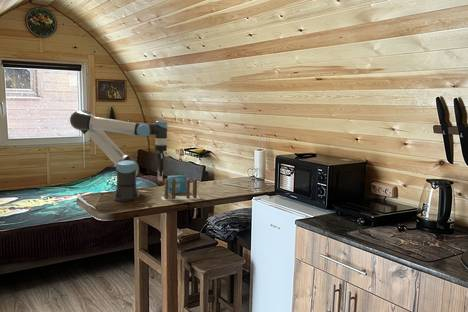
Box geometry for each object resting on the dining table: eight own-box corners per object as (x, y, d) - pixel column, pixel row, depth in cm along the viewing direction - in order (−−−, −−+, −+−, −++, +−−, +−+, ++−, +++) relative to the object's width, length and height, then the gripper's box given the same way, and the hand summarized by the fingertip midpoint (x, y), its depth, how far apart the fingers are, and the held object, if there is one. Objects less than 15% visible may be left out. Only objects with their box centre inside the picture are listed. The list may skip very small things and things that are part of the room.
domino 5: (194, 198, 268) (194, 179, 266) (192, 196, 273) (193, 178, 271) (196, 198, 268) (197, 179, 267) (195, 196, 273) (195, 178, 272)
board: (162, 201, 260) (162, 200, 260) (160, 198, 269) (160, 196, 269) (200, 200, 267) (200, 198, 266) (197, 197, 276) (197, 195, 276)
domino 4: (187, 198, 266) (187, 179, 265) (185, 196, 271) (186, 178, 270) (189, 198, 267) (189, 179, 266) (188, 196, 272) (188, 178, 270)
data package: (169, 194, 280) (169, 176, 279) (166, 193, 284) (167, 175, 283) (186, 193, 286) (186, 176, 285) (183, 192, 290) (183, 175, 289)
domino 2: (165, 199, 263) (165, 179, 261) (164, 197, 268) (164, 178, 266) (168, 198, 263) (168, 179, 262) (167, 197, 268) (167, 178, 267)
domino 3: (172, 198, 264) (173, 179, 263) (171, 197, 269) (171, 178, 267) (175, 198, 264) (175, 179, 263) (174, 197, 269) (174, 178, 268)
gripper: (168, 146, 268) (167, 182, 271) (165, 143, 285) (164, 177, 288) (156, 145, 266) (155, 182, 268) (153, 143, 283) (153, 177, 286)
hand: (160, 179), depth 278 cm, fingers closed on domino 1, 5 cm apart
